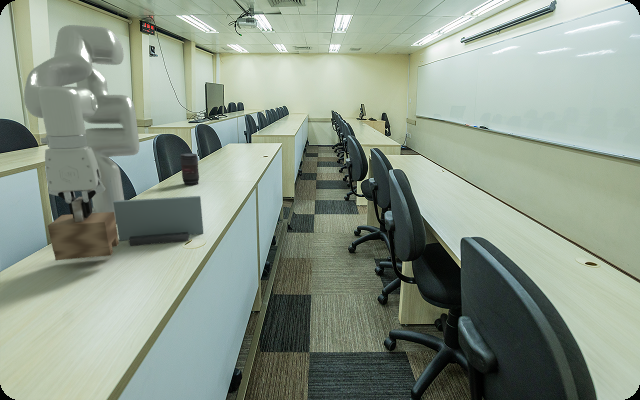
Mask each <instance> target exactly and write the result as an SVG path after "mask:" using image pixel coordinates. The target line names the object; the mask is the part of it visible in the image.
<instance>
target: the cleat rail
mask: <svg viewBox="0 0 640 400" xmlns="http://www.w3.org/2000/svg"><path fill="white" fill-rule="evenodd" d="M189 240H190V235H189V233H188V232H180V233H168V234H155V235H143V236H131V237H130V238H129V240H128V243H129V247H136V246H145V245H159V244H168V243H171V244H172V243H179V242H189Z"/></svg>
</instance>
